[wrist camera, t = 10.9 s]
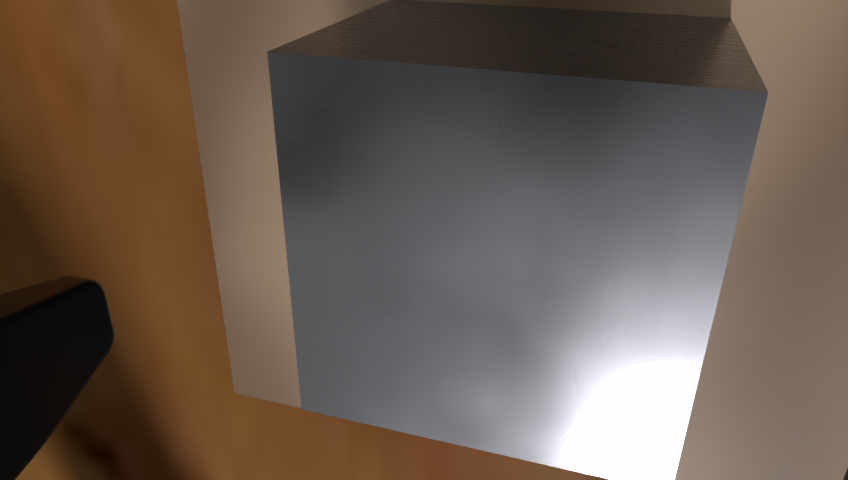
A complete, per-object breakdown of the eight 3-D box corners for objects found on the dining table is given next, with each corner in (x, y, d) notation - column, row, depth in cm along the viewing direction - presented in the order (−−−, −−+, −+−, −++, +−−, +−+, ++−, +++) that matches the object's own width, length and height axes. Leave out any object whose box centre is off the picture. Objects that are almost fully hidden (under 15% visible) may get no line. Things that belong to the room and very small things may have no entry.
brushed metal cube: (730, 17, 12) (767, 92, 8) (669, 317, 15) (671, 493, 10) (392, -1, 13) (267, 51, 9) (395, 272, 16) (301, 409, 12)
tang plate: (1181, -342, 9) (1442, -456, 6) (840, 495, 17) (880, 635, 14) (173, -284, 14) (24, -336, 10) (255, 367, 21) (183, 453, 18)
